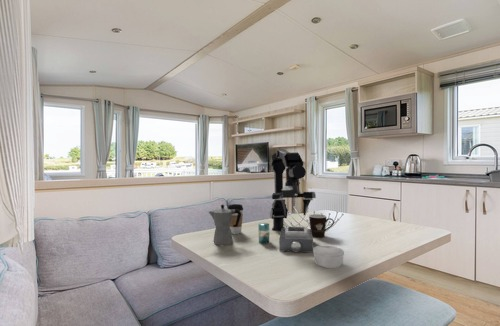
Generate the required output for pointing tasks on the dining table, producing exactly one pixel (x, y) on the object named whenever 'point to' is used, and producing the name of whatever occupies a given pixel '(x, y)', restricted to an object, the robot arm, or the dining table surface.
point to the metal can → (263, 233)
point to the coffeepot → (224, 225)
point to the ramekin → (328, 256)
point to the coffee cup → (234, 217)
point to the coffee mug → (318, 225)
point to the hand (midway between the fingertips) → (294, 215)
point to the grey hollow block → (296, 239)
